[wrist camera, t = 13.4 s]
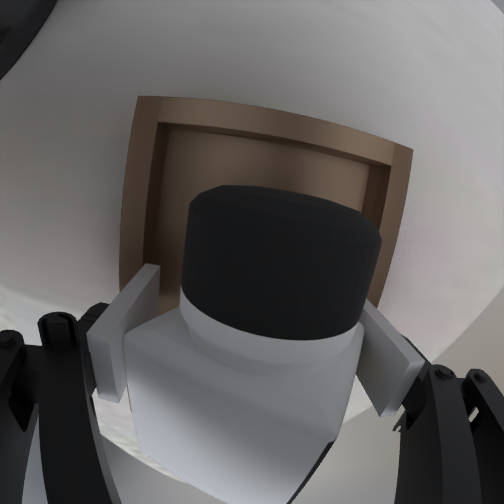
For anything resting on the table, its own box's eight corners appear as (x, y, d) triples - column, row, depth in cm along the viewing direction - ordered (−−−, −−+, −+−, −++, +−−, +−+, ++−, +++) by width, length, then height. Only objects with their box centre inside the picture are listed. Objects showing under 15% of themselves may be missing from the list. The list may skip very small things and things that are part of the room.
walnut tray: (141, 383, 18) (131, 411, 15) (155, 108, 13) (138, 95, 10) (316, 400, 20) (325, 427, 17) (385, 151, 15) (413, 149, 12)
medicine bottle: (274, 525, 7) (424, 233, 4) (136, 450, 10) (120, 172, 7) (322, 426, 14) (398, 214, 10) (214, 382, 16) (243, 180, 13)
